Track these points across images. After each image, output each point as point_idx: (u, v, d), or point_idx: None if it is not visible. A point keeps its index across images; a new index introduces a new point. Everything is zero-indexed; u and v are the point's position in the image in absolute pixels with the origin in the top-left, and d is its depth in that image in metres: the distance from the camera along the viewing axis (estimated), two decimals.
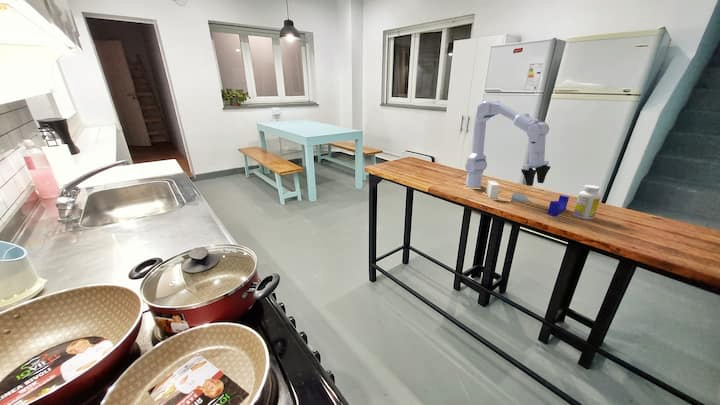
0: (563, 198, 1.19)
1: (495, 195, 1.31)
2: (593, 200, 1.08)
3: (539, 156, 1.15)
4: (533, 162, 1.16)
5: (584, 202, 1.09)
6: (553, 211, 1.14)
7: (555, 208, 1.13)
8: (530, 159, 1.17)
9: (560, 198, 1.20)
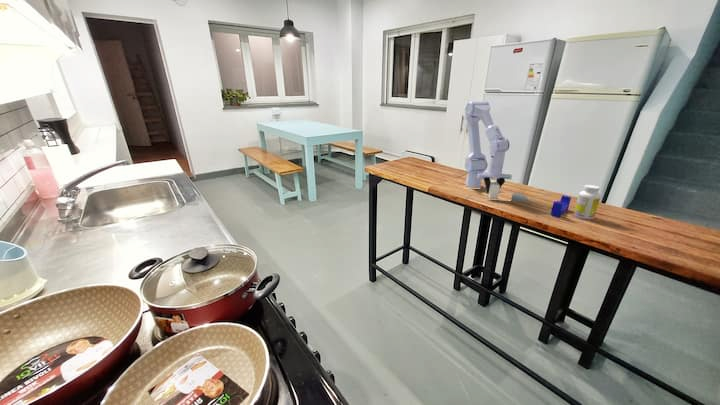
0: (565, 198, 1.18)
1: (495, 195, 1.31)
2: (593, 200, 1.08)
3: (492, 169, 1.29)
4: (488, 173, 1.32)
5: (584, 202, 1.09)
6: (556, 212, 1.13)
7: (558, 209, 1.12)
8: None
9: (562, 198, 1.19)
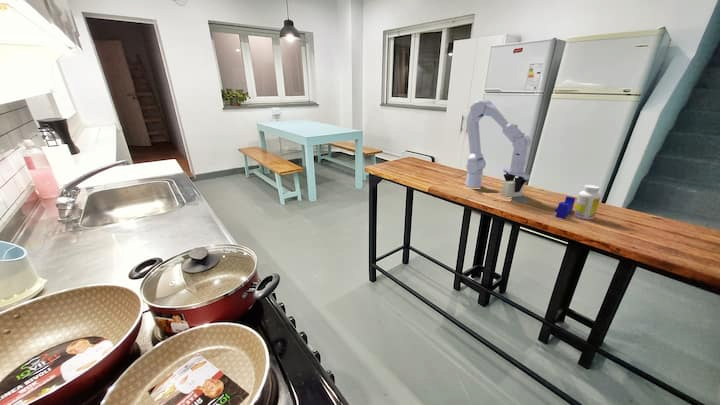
0: (570, 199, 1.18)
1: (505, 192, 1.34)
2: (593, 200, 1.08)
3: None
4: None
5: (584, 202, 1.09)
6: (562, 213, 1.12)
7: (564, 210, 1.11)
8: None
9: (566, 199, 1.18)
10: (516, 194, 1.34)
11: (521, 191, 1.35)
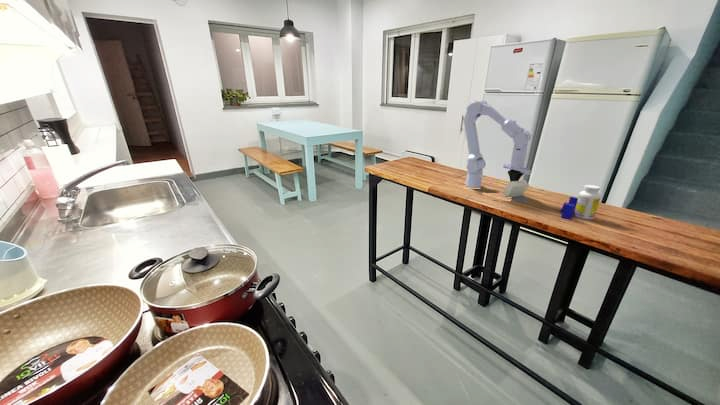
0: (574, 199, 1.17)
1: (507, 192, 1.33)
2: (593, 200, 1.07)
3: (511, 160, 1.32)
4: None
5: (584, 202, 1.09)
6: (567, 214, 1.11)
7: (569, 211, 1.10)
8: None
9: (570, 200, 1.18)
10: (517, 194, 1.34)
11: (522, 192, 1.34)
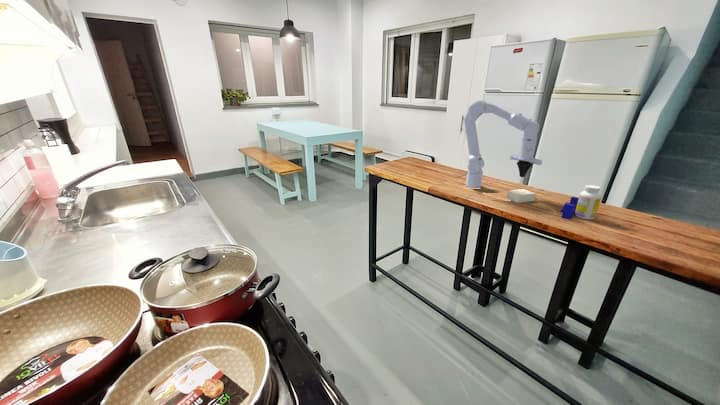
0: (575, 199, 1.17)
1: (510, 197, 1.31)
2: (594, 200, 1.07)
3: (520, 151, 1.31)
4: None
5: (585, 202, 1.09)
6: (568, 214, 1.11)
7: (570, 211, 1.10)
8: None
9: (572, 200, 1.18)
10: None
11: None
